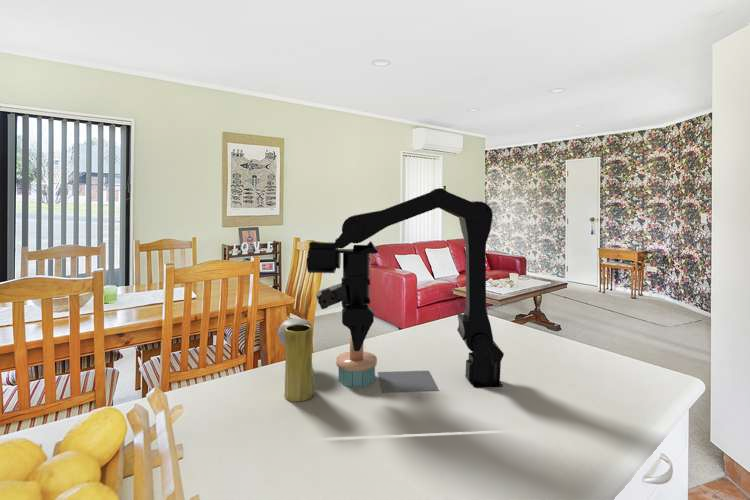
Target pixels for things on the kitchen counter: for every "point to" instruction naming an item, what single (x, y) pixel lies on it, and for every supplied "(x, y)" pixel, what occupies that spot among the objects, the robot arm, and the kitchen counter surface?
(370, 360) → the lid
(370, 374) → the bowl
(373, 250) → the robot arm
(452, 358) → the kitchen counter surface
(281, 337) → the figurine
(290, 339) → the vase
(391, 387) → the mat
